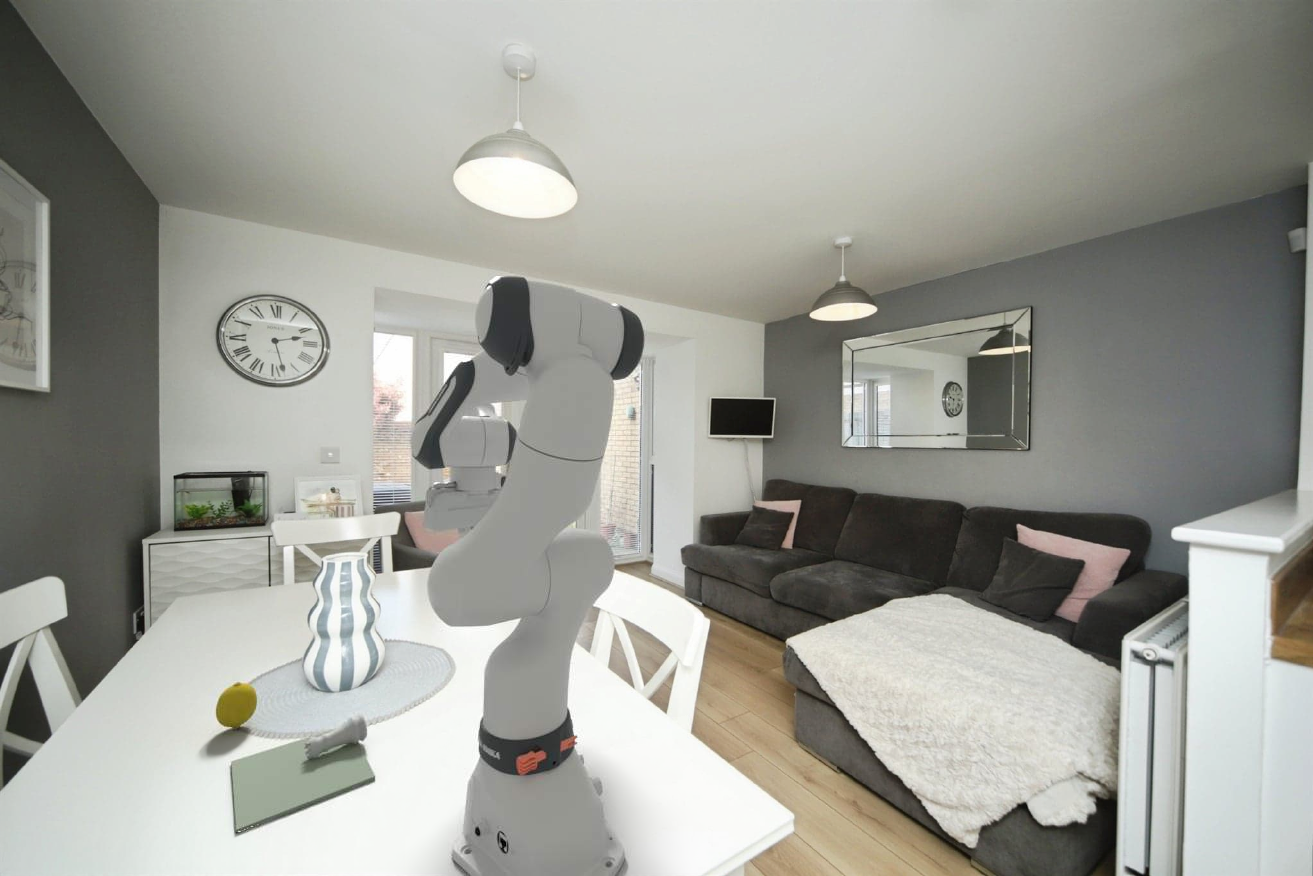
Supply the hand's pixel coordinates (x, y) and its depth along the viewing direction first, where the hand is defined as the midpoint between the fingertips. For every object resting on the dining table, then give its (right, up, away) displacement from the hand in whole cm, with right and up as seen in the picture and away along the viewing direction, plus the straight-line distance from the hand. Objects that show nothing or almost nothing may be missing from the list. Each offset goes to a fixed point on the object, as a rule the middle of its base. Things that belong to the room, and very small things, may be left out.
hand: (471, 547), depth 103 cm
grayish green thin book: (-16, -29, -26) cm, 42 cm away
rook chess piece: (-11, -26, -18) cm, 34 cm away
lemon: (-35, -28, -15) cm, 48 cm away
